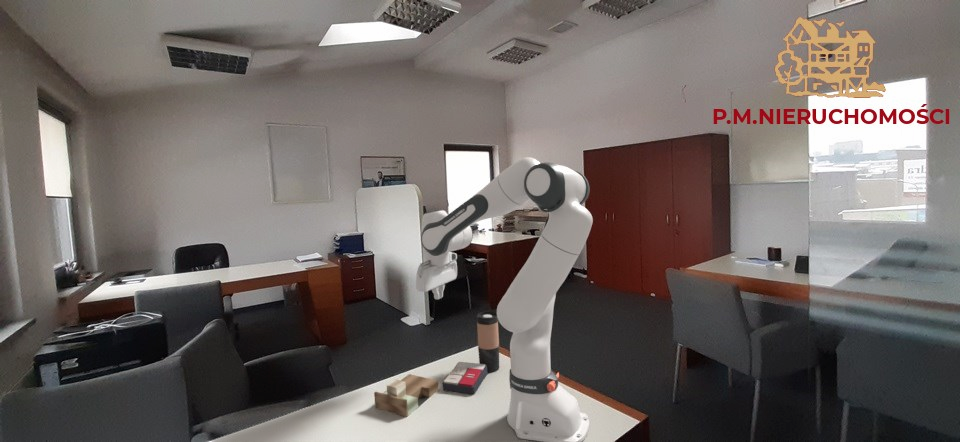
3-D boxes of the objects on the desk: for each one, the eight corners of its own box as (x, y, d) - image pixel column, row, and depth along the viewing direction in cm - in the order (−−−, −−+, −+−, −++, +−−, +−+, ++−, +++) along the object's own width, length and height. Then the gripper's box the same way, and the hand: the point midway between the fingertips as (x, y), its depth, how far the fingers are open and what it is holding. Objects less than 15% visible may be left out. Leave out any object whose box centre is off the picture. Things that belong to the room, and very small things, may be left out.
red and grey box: (441, 381, 127) (458, 359, 141) (442, 393, 128) (459, 370, 142) (473, 385, 124) (487, 362, 138) (474, 398, 124) (488, 374, 138)
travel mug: (504, 367, 142) (502, 314, 141) (490, 375, 137) (487, 319, 135) (488, 361, 148) (486, 310, 146) (474, 368, 142) (472, 315, 141)
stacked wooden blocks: (438, 389, 129) (438, 374, 128) (406, 417, 114) (405, 400, 113) (409, 382, 134) (408, 368, 134) (375, 408, 119) (374, 392, 119)
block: (406, 394, 121) (405, 382, 120) (397, 400, 117) (396, 388, 117) (396, 391, 123) (395, 379, 122) (387, 397, 119) (386, 385, 119)
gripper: (426, 264, 121) (428, 307, 122) (459, 253, 139) (461, 291, 140) (410, 263, 124) (412, 306, 125) (444, 253, 142) (446, 290, 143)
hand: (438, 298), depth 133 cm, fingers closed
